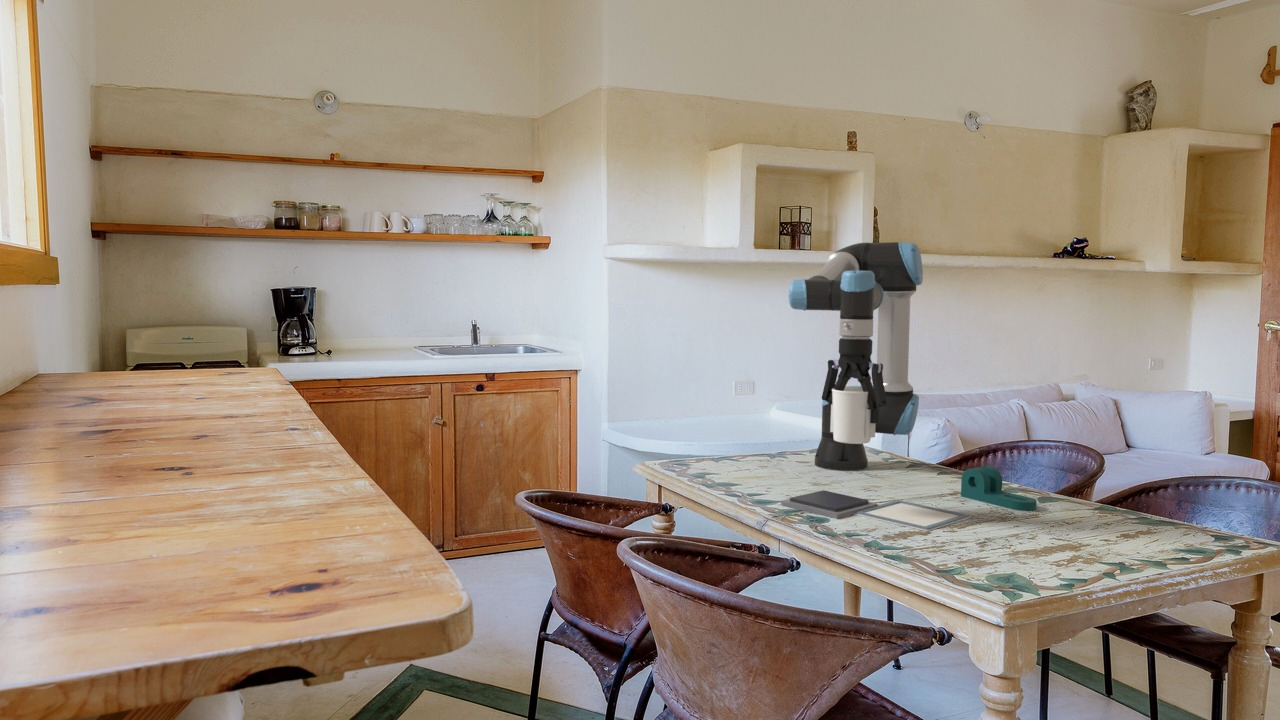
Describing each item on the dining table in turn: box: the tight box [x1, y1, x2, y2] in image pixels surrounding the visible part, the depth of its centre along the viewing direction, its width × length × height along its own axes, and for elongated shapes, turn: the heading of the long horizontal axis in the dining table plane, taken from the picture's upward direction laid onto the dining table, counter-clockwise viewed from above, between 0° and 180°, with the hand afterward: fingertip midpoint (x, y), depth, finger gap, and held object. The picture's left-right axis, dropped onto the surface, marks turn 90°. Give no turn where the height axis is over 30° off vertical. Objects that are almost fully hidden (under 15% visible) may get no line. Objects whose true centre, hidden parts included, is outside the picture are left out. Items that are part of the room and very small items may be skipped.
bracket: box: [960, 465, 1038, 512], centre depth 216 cm, size 18×7×8 cm, turn 31°
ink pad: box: [780, 490, 878, 519], centre depth 209 cm, size 16×16×2 cm
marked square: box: [853, 499, 973, 532], centre depth 202 cm, size 19×19×1 cm
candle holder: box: [832, 386, 871, 445], centre depth 205 cm, size 10×10×12 cm
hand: (852, 434), depth 206 cm, fingers closed on candle holder, 9 cm apart
